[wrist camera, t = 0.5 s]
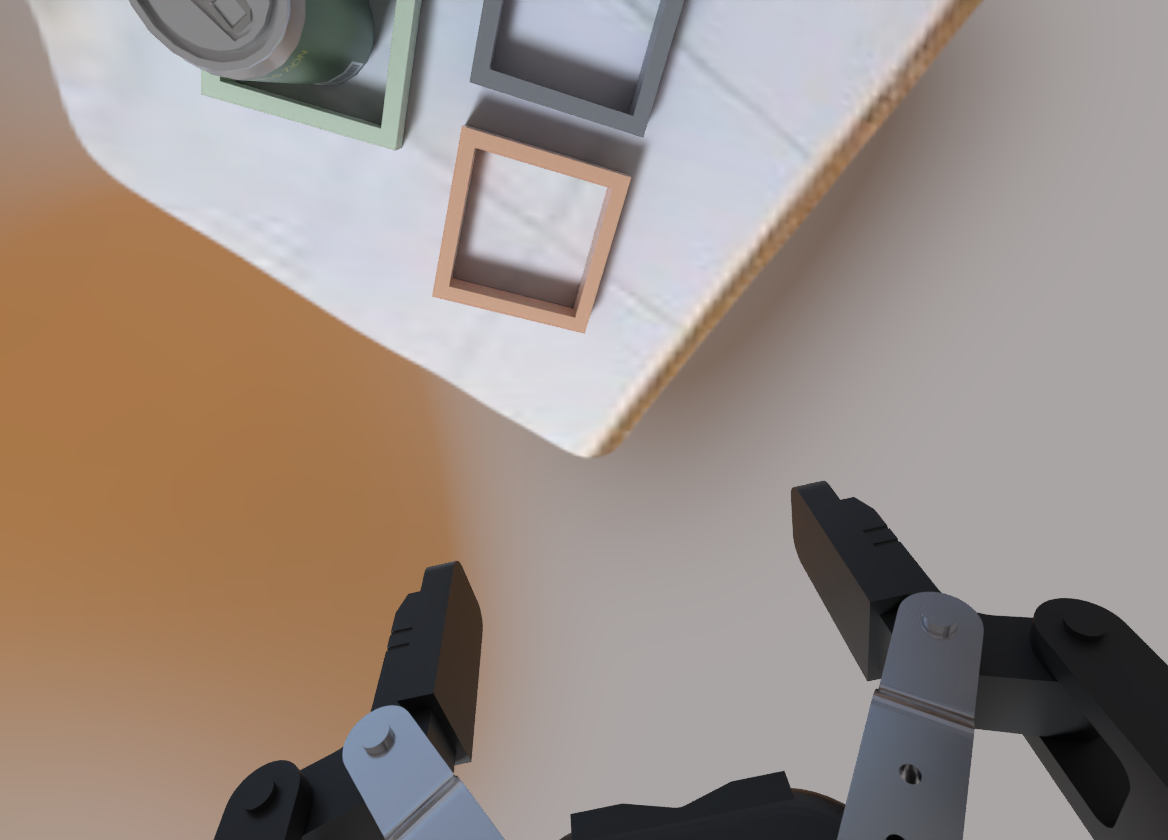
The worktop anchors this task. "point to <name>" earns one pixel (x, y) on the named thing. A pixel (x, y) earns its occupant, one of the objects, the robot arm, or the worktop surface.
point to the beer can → (265, 37)
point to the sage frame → (331, 120)
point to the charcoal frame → (569, 104)
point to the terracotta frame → (509, 301)
